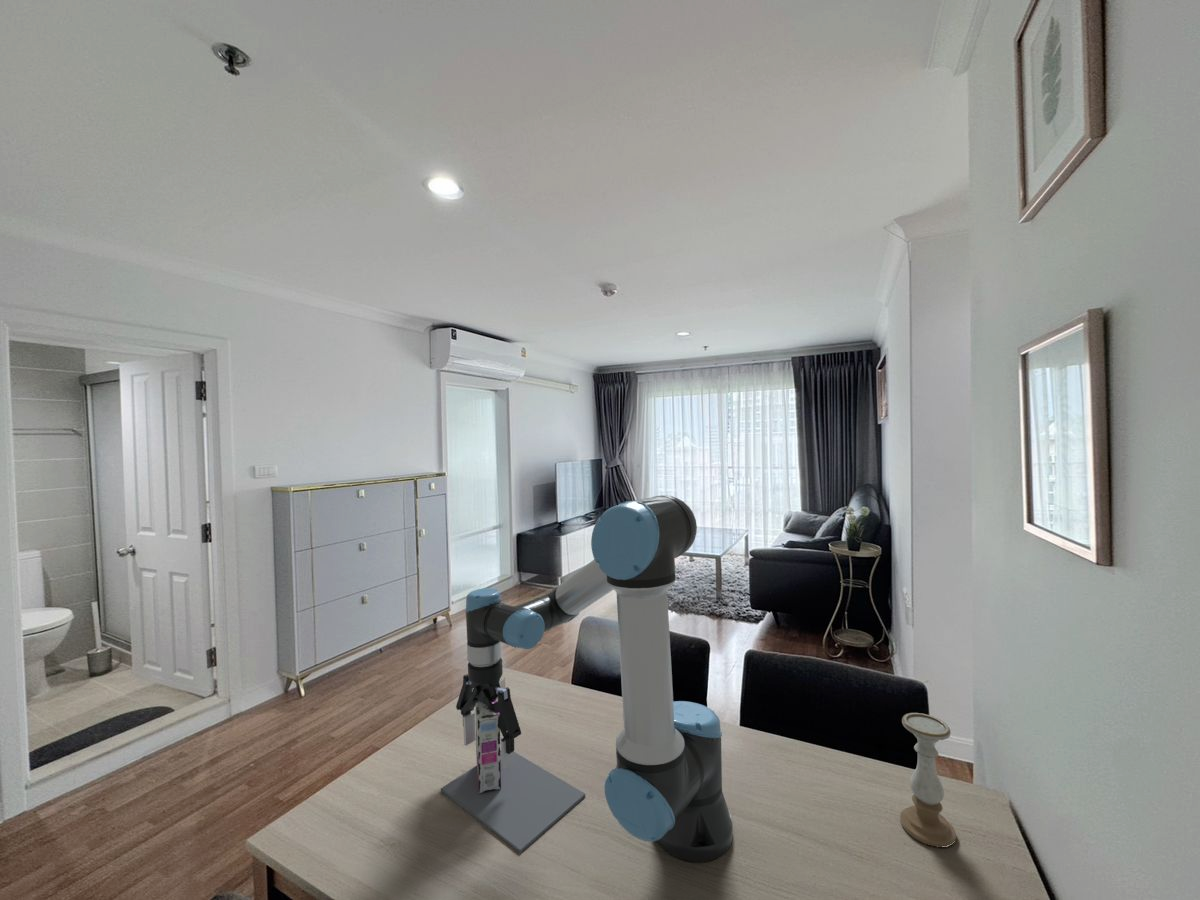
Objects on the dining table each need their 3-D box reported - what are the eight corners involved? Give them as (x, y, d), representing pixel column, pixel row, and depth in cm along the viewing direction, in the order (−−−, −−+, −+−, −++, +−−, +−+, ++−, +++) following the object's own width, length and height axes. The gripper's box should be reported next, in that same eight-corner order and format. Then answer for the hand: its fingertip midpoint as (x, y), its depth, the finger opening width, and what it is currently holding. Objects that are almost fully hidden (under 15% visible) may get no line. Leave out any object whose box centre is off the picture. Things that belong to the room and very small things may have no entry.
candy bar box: (502, 789, 105) (500, 714, 105) (478, 795, 104) (476, 718, 103) (497, 757, 116) (495, 689, 115) (476, 762, 114) (473, 693, 114)
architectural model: (485, 711, 138) (485, 685, 138) (497, 698, 145) (496, 674, 144) (497, 713, 137) (496, 686, 137) (507, 700, 144) (506, 675, 144)
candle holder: (889, 819, 95) (887, 716, 94) (921, 806, 98) (919, 706, 97) (934, 855, 86) (932, 742, 86) (967, 839, 90) (965, 730, 89)
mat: (585, 796, 103) (585, 793, 103) (520, 853, 89) (520, 849, 89) (505, 749, 120) (505, 746, 120) (440, 791, 106) (440, 788, 106)
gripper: (535, 668, 104) (538, 767, 104) (466, 640, 120) (469, 726, 120) (508, 682, 98) (511, 786, 99) (439, 651, 114) (442, 741, 115)
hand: (488, 753), depth 110 cm, fingers open, 13 cm apart
